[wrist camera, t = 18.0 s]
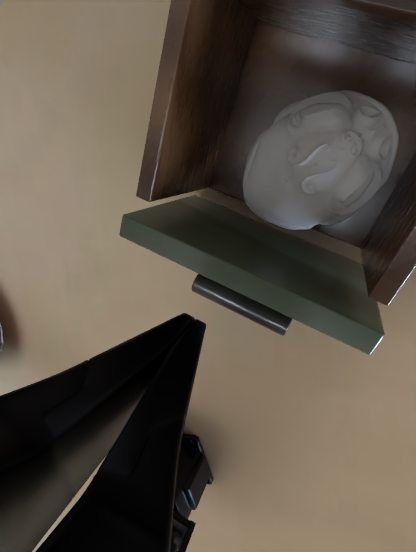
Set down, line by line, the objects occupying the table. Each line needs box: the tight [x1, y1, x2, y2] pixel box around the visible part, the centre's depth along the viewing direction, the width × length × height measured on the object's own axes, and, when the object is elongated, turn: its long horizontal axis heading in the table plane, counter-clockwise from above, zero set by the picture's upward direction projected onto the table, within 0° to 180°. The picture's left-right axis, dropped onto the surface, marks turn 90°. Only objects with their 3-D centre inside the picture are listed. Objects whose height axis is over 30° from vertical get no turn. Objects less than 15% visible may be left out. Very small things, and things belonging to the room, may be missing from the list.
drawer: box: [120, 0, 416, 355], centre depth 16 cm, size 17×13×9 cm
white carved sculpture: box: [243, 90, 399, 230], centre depth 15 cm, size 6×7×7 cm
